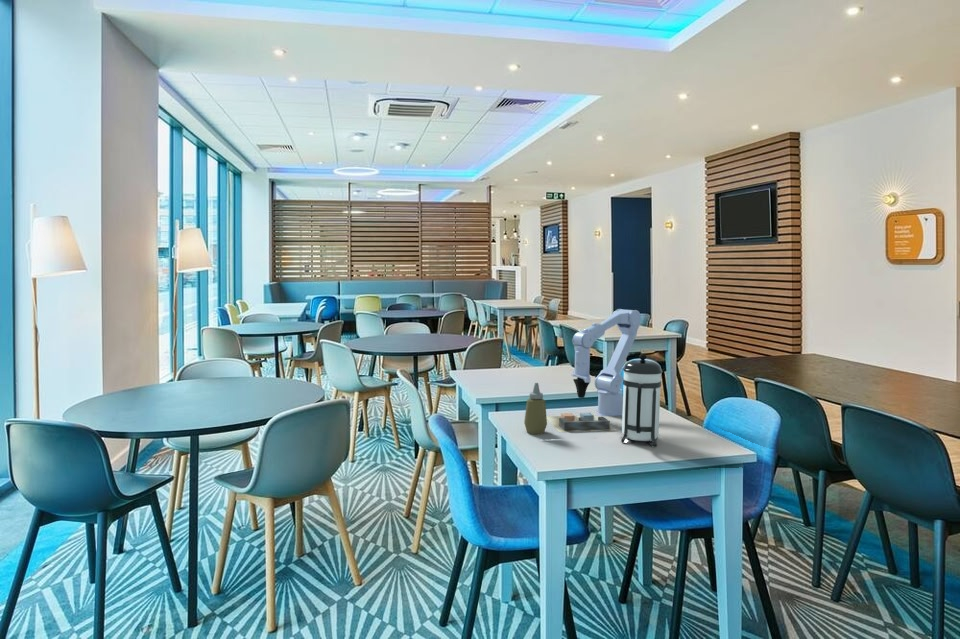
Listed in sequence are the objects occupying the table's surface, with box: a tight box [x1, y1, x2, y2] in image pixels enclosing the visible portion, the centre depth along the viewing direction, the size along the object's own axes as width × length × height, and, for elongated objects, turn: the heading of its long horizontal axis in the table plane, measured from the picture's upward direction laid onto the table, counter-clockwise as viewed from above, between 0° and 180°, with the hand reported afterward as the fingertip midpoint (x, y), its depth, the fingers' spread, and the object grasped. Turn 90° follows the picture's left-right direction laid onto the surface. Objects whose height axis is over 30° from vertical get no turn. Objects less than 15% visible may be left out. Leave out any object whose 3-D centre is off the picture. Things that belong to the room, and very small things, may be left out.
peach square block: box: [560, 412, 576, 421], centre depth 212 cm, size 4×4×3 cm
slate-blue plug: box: [579, 412, 594, 421], centre depth 213 cm, size 4×4×3 cm
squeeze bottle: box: [524, 382, 548, 435], centre depth 198 cm, size 8×8×18 cm
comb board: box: [546, 414, 618, 433], centre depth 211 cm, size 22×22×4 cm
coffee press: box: [620, 353, 663, 447], centre depth 189 cm, size 17×16×30 cm
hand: (581, 397), depth 220 cm, fingers closed
